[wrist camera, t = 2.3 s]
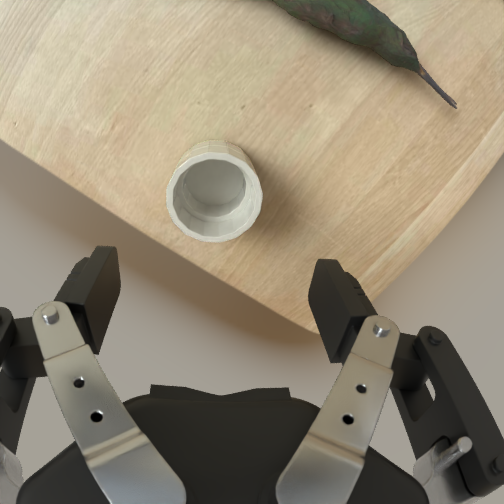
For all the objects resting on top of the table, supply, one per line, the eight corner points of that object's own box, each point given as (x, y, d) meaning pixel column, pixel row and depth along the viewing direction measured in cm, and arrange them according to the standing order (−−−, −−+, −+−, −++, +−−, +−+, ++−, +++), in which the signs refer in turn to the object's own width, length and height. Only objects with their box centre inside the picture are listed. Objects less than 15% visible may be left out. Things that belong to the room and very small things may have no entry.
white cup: (174, 210, 25) (165, 239, 21) (178, 136, 22) (168, 150, 18) (248, 214, 26) (255, 245, 21) (258, 142, 23) (268, 157, 18)
